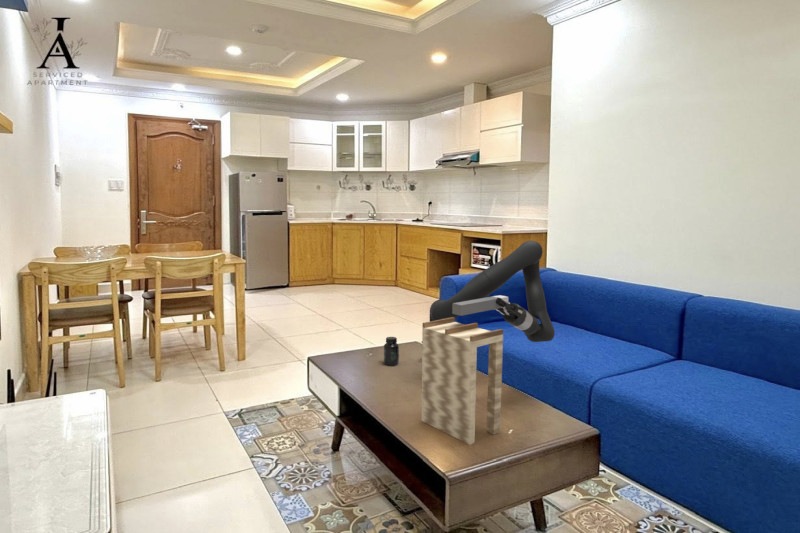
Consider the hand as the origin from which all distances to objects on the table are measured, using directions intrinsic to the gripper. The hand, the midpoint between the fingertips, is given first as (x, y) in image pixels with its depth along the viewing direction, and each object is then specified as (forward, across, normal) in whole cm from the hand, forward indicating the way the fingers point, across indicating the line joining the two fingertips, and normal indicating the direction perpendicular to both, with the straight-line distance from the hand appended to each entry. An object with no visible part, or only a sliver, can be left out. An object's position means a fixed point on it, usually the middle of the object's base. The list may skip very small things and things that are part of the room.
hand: (492, 299), depth 182 cm
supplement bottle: (-22, -60, +33) cm, 72 cm away
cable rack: (-2, +5, +44) cm, 44 cm away
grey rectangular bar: (+3, 0, +6) cm, 6 cm away
